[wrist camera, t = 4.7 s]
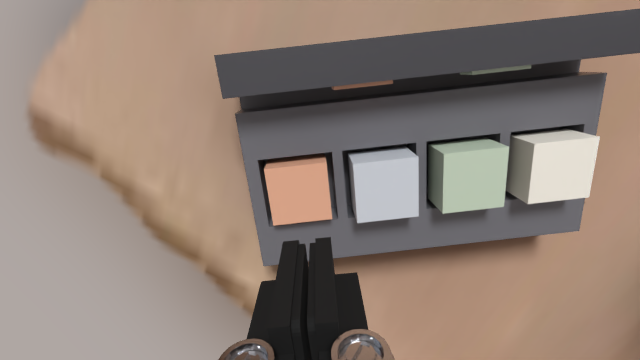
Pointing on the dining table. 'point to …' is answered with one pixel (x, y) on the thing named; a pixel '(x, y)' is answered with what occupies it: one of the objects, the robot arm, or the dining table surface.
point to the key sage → (467, 174)
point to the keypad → (419, 118)
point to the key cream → (551, 165)
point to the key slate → (384, 184)
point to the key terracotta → (298, 189)
